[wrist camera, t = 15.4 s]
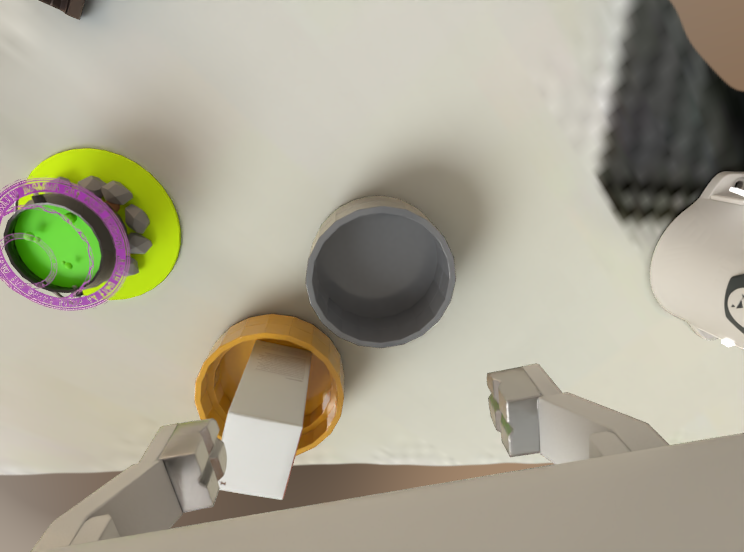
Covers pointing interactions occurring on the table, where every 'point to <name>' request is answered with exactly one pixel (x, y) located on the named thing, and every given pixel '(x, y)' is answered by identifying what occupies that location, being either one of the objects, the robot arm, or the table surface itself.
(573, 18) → the table surface
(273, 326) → the bowl
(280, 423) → the small box
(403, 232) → the pot
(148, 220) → the toy cauldron
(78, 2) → the tablet stand
